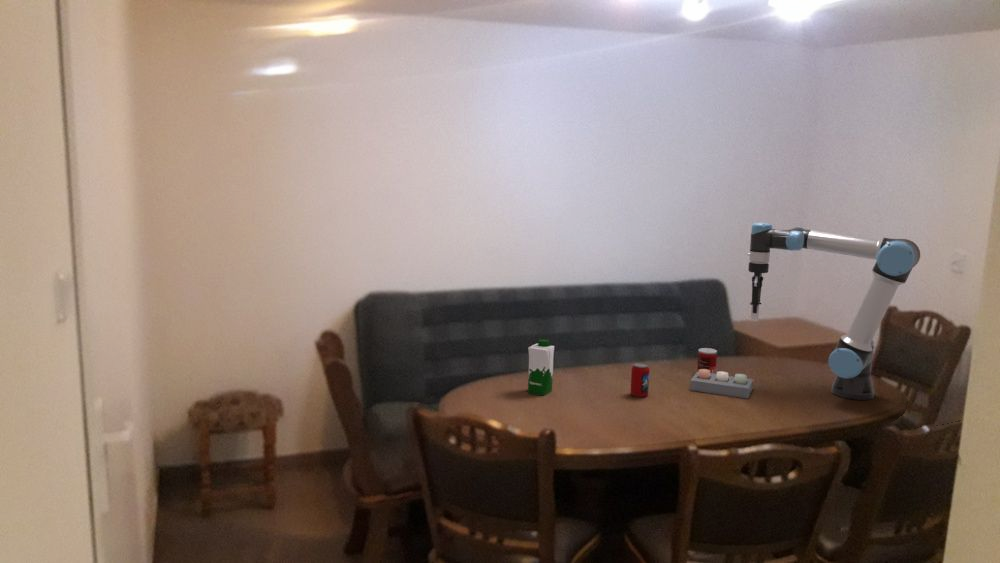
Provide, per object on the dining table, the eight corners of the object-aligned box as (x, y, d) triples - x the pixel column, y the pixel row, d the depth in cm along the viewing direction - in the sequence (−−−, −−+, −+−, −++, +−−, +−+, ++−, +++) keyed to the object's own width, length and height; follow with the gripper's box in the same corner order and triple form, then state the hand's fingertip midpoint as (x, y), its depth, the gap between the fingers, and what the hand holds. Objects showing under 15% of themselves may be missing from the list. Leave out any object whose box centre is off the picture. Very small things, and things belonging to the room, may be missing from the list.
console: (752, 388, 308) (753, 379, 307) (747, 398, 295) (748, 388, 295) (696, 381, 317) (697, 371, 316) (689, 390, 304) (690, 380, 304)
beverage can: (648, 398, 293) (649, 367, 291) (630, 397, 294) (631, 366, 292) (648, 393, 299) (650, 363, 297) (630, 391, 301) (632, 361, 299)
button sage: (746, 387, 304) (747, 374, 303) (745, 390, 300) (746, 377, 299) (735, 385, 306) (735, 373, 305) (733, 388, 302) (734, 375, 301)
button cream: (728, 384, 307) (729, 372, 306) (726, 387, 303) (727, 375, 302) (716, 382, 309) (717, 370, 308) (715, 385, 305) (715, 373, 304)
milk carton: (555, 390, 300) (556, 340, 296) (545, 397, 292) (547, 345, 288) (534, 387, 304) (536, 337, 300) (524, 393, 296) (525, 342, 292)
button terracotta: (710, 381, 310) (711, 369, 309) (708, 384, 306) (709, 372, 305) (699, 380, 312) (699, 368, 311) (697, 383, 308) (697, 371, 307)
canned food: (713, 373, 329) (715, 348, 327) (717, 378, 321) (718, 353, 319) (695, 372, 329) (697, 347, 328) (698, 377, 321) (699, 352, 320)
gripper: (751, 259, 313) (746, 316, 317) (746, 263, 302) (742, 322, 305) (770, 261, 310) (766, 318, 314) (767, 265, 298) (762, 324, 302)
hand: (754, 320), depth 310 cm, fingers closed
